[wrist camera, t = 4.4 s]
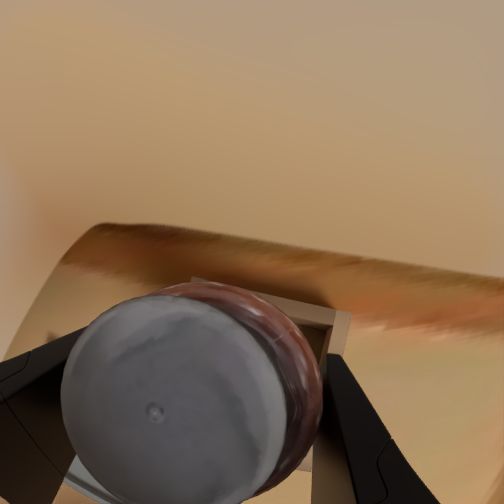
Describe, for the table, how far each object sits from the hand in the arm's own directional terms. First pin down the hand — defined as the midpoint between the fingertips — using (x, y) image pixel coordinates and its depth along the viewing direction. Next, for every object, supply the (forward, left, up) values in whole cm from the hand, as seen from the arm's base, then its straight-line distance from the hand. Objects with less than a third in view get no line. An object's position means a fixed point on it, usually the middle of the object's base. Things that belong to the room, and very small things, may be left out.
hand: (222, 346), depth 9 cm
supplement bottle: (-1, 0, -7) cm, 7 cm away
